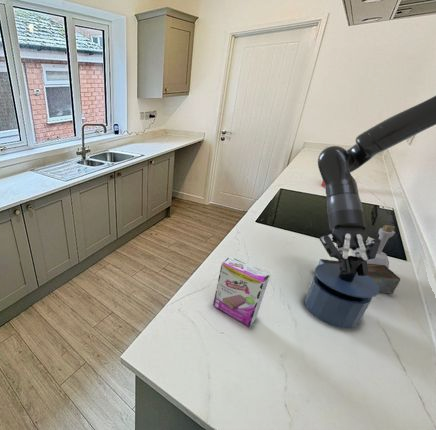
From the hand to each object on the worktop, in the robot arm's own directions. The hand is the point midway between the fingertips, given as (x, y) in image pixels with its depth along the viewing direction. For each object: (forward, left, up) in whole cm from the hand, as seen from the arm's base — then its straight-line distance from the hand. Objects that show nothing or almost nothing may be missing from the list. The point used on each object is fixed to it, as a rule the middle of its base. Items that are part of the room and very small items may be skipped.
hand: (354, 274), depth 68 cm
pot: (+1, -1, -15) cm, 15 cm away
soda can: (+31, -119, -15) cm, 124 cm away
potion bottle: (-2, -33, -15) cm, 37 cm away
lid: (+1, -2, -3) cm, 4 cm away
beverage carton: (0, -20, -15) cm, 25 cm away
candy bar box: (+19, +21, -15) cm, 32 cm away
